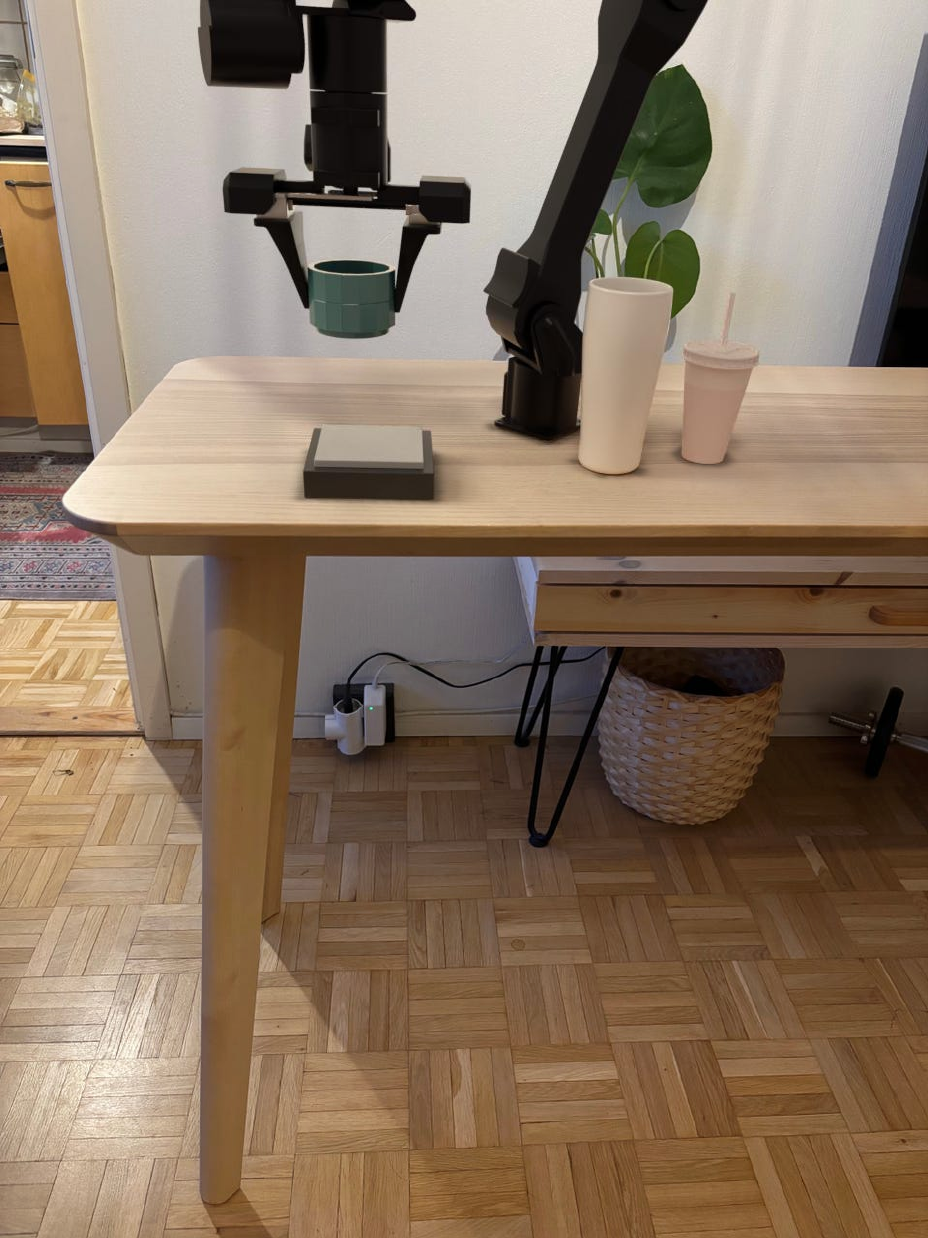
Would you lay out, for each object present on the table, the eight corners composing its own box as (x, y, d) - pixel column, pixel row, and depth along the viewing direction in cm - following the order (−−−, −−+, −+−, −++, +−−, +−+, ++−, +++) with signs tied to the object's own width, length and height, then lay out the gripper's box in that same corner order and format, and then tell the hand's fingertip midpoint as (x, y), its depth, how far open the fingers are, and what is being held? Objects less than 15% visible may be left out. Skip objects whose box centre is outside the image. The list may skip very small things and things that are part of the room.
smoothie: (741, 450, 85) (773, 291, 78) (735, 474, 79) (769, 306, 72) (671, 440, 86) (696, 283, 79) (661, 462, 81) (687, 297, 74)
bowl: (412, 331, 77) (413, 268, 75) (351, 344, 73) (349, 278, 70) (354, 316, 81) (353, 256, 79) (293, 328, 77) (289, 264, 74)
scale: (430, 454, 80) (431, 423, 79) (433, 499, 72) (434, 465, 70) (315, 452, 80) (313, 420, 78) (304, 497, 71) (302, 463, 70)
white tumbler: (644, 454, 83) (670, 279, 75) (650, 482, 77) (679, 295, 69) (569, 449, 83) (587, 274, 76) (569, 476, 77) (588, 290, 70)
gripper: (474, 95, 75) (466, 294, 83) (245, 85, 75) (259, 285, 83) (474, 98, 66) (465, 323, 74) (211, 86, 65) (231, 313, 73)
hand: (353, 309), depth 76 cm, fingers closed on bowl, 7 cm apart
